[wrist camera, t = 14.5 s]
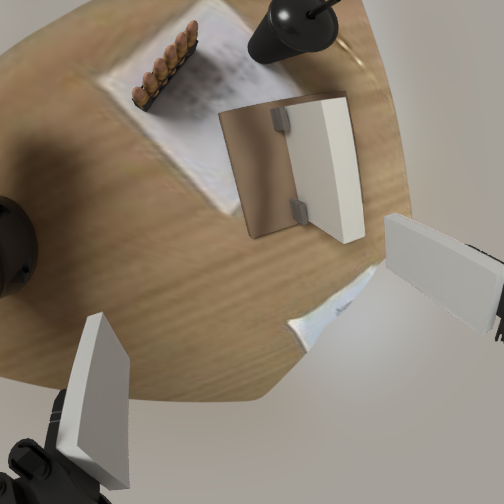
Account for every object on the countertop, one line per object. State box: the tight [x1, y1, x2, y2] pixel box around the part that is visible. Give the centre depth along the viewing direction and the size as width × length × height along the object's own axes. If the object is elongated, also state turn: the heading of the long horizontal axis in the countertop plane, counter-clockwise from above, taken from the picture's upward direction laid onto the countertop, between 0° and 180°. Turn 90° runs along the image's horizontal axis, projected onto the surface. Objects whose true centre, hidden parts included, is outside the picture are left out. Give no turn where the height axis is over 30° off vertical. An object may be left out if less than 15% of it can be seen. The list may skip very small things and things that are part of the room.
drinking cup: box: [248, 0, 341, 64], centre depth 27 cm, size 8×8×20 cm
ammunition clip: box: [132, 20, 198, 112], centre depth 29 cm, size 11×2×12 cm, turn 143°
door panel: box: [284, 97, 365, 244], centre depth 36 cm, size 3×16×12 cm, turn 14°
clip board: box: [218, 91, 363, 239], centre depth 41 cm, size 19×18×5 cm
